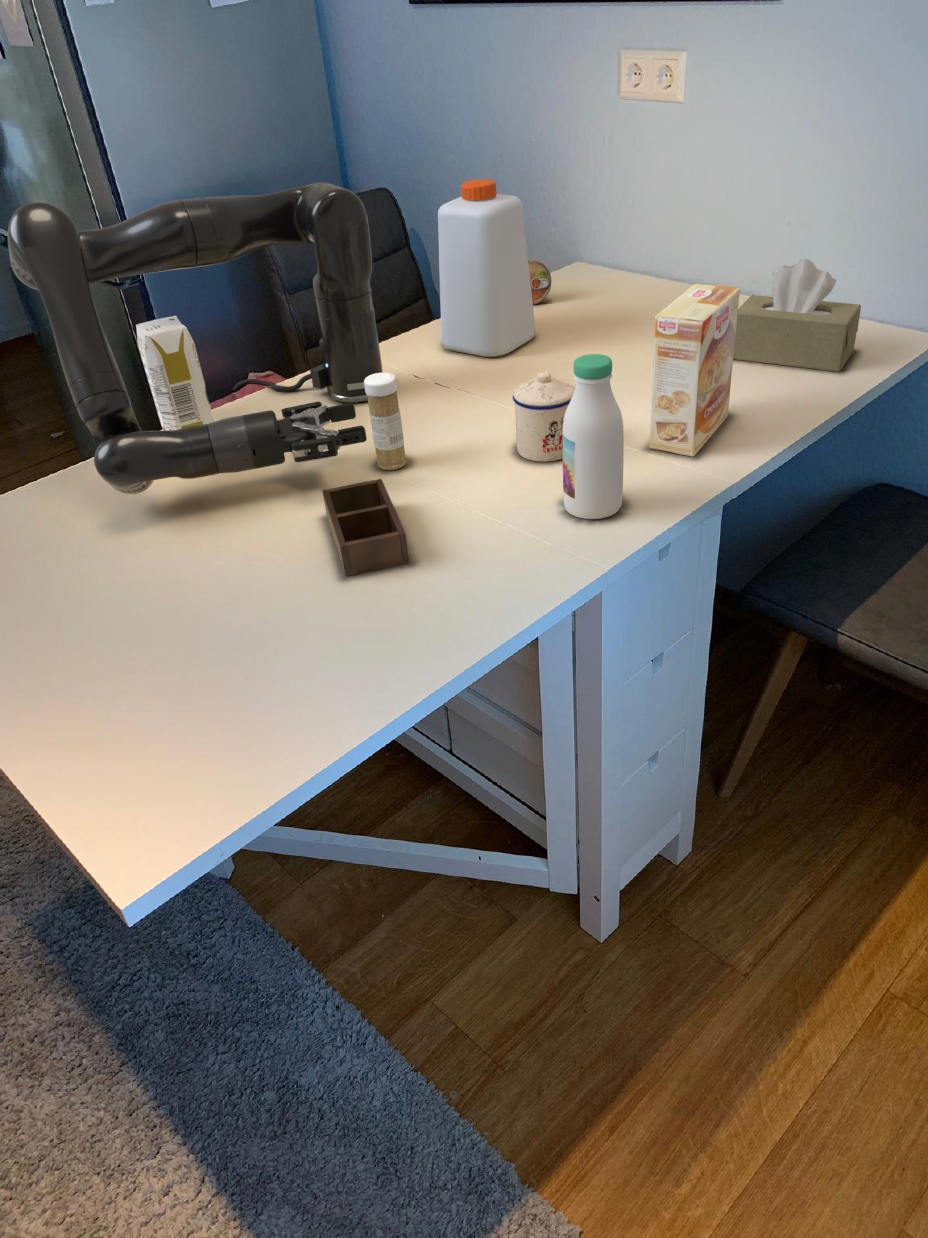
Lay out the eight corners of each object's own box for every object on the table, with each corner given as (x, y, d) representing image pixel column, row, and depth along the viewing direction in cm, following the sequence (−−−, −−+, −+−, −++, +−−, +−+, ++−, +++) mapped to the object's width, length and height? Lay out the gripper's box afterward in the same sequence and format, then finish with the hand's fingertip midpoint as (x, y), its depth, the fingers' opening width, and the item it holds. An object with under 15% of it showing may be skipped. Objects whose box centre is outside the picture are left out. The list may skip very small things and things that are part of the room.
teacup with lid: (548, 469, 132) (546, 391, 126) (502, 452, 138) (498, 376, 131) (602, 439, 139) (602, 363, 132) (556, 424, 144) (554, 351, 138)
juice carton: (175, 457, 146) (141, 338, 134) (163, 438, 152) (129, 323, 141) (222, 445, 148) (192, 326, 137) (208, 426, 154) (178, 312, 143)
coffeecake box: (694, 457, 132) (704, 320, 120) (647, 449, 135) (652, 314, 124) (730, 416, 142) (742, 286, 130) (685, 409, 145) (693, 281, 134)
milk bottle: (629, 496, 124) (633, 350, 113) (612, 524, 119) (614, 374, 107) (574, 488, 127) (573, 345, 116) (555, 516, 122) (551, 368, 110)
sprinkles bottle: (400, 454, 140) (388, 368, 132) (412, 466, 137) (401, 378, 129) (371, 462, 139) (358, 376, 131) (383, 474, 135) (370, 386, 127)
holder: (345, 576, 114) (339, 546, 111) (327, 518, 126) (321, 489, 124) (409, 562, 115) (405, 533, 113) (385, 506, 128) (381, 478, 125)
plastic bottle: (479, 324, 185) (468, 170, 168) (544, 334, 177) (539, 174, 161) (433, 349, 175) (416, 189, 159) (499, 361, 167) (489, 194, 151)
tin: (479, 306, 194) (476, 264, 189) (481, 301, 196) (478, 260, 191) (551, 304, 191) (550, 262, 186) (552, 299, 194) (551, 257, 189)
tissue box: (855, 351, 158) (871, 255, 149) (841, 372, 152) (857, 273, 142) (745, 339, 167) (754, 247, 157) (727, 358, 160) (736, 264, 151)
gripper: (248, 446, 138) (355, 426, 141) (256, 488, 127) (373, 466, 129) (237, 398, 134) (348, 378, 136) (244, 438, 122) (365, 415, 125)
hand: (360, 421), depth 133 cm, fingers open, 8 cm apart
